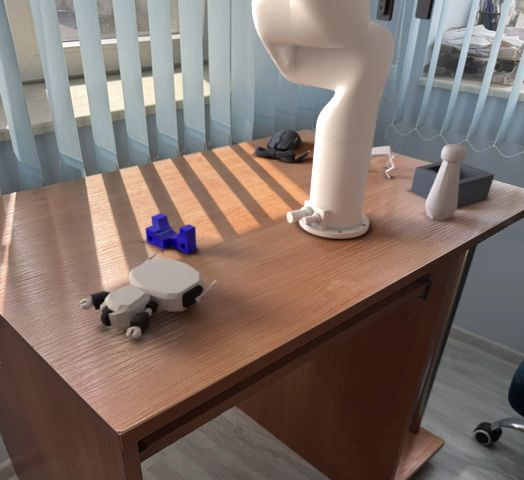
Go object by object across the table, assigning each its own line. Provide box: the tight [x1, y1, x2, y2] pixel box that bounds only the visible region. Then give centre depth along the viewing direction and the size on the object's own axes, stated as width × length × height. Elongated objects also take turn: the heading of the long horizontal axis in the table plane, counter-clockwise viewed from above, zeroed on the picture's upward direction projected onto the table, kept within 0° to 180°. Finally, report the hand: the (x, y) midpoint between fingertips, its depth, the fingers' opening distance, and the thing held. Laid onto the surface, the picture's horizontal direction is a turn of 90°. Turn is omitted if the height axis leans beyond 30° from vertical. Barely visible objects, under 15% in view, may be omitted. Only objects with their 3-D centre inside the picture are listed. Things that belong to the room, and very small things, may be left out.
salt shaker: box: [424, 143, 468, 221], centre depth 95 cm, size 6×6×13 cm
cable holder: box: [144, 212, 197, 255], centre depth 84 cm, size 8×4×4 cm, turn 51°
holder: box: [410, 160, 495, 208], centre depth 107 cm, size 11×11×5 cm
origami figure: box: [371, 145, 396, 179], centre depth 117 cm, size 12×8×5 cm
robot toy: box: [78, 251, 218, 339], centre depth 69 cm, size 12×4×15 cm
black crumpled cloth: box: [253, 128, 312, 163], centre depth 127 cm, size 12×17×4 cm
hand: (403, 19), depth 92 cm, fingers open, 9 cm apart
